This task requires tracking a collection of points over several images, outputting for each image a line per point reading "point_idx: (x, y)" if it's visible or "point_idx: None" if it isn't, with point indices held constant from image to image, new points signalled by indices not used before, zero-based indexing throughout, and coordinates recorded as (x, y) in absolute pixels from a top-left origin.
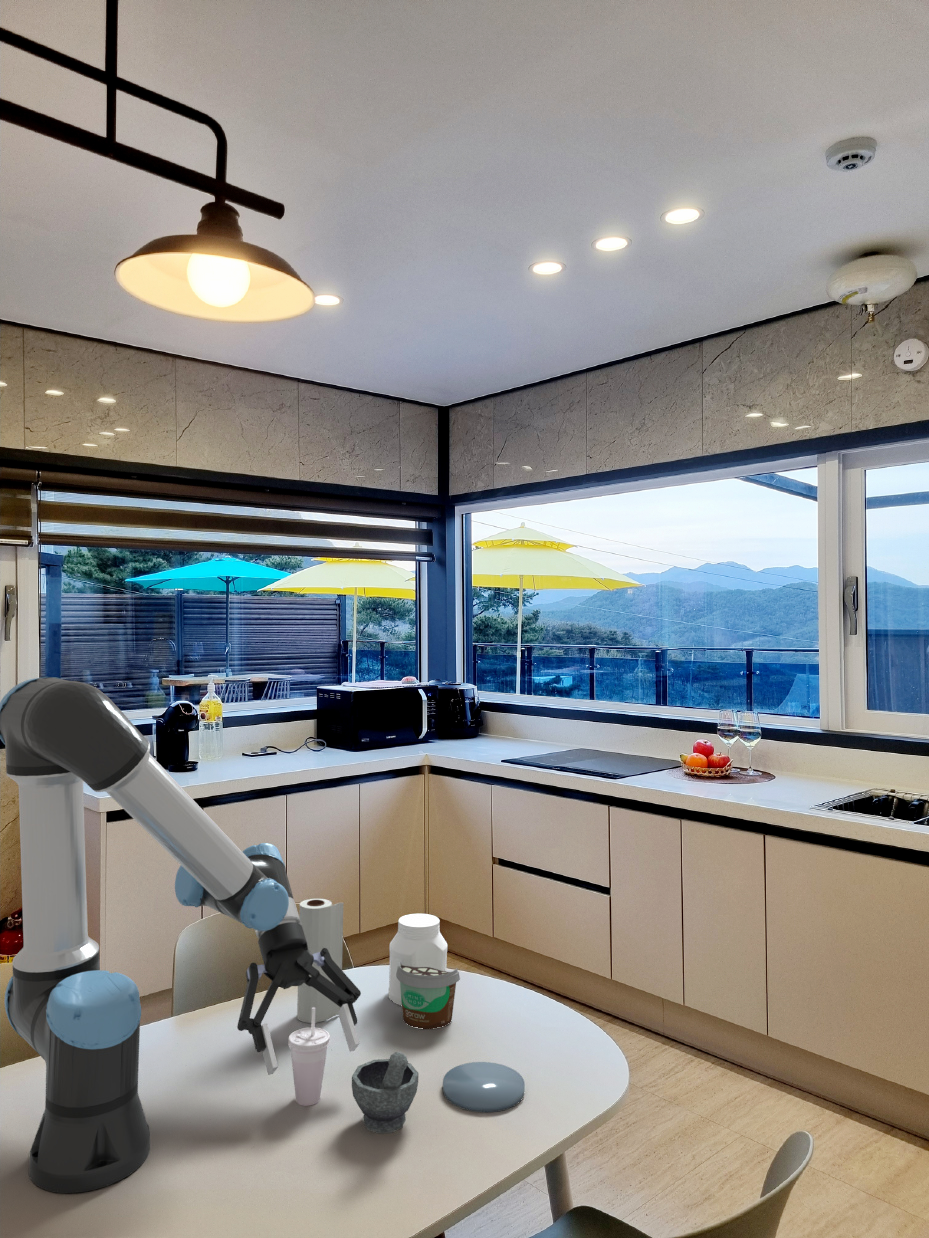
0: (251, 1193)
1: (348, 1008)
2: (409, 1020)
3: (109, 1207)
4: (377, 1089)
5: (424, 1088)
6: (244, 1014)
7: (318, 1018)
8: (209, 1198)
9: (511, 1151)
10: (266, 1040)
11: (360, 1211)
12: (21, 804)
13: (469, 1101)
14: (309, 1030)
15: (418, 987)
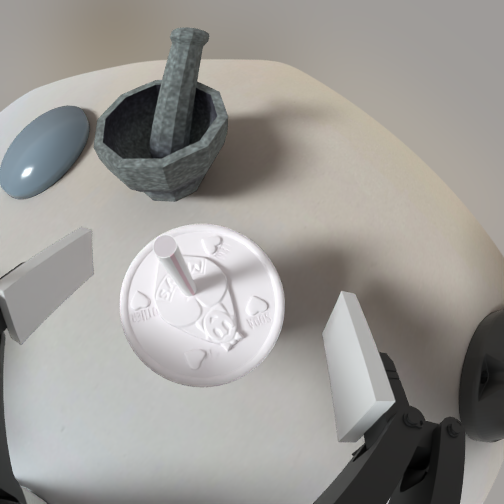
0: (404, 187)
1: (7, 276)
2: None
3: (499, 278)
4: (211, 94)
5: (64, 199)
6: (459, 448)
7: (38, 500)
8: (439, 216)
9: (141, 71)
10: (377, 350)
11: (320, 97)
12: None
13: (83, 123)
14: (162, 346)
15: None
